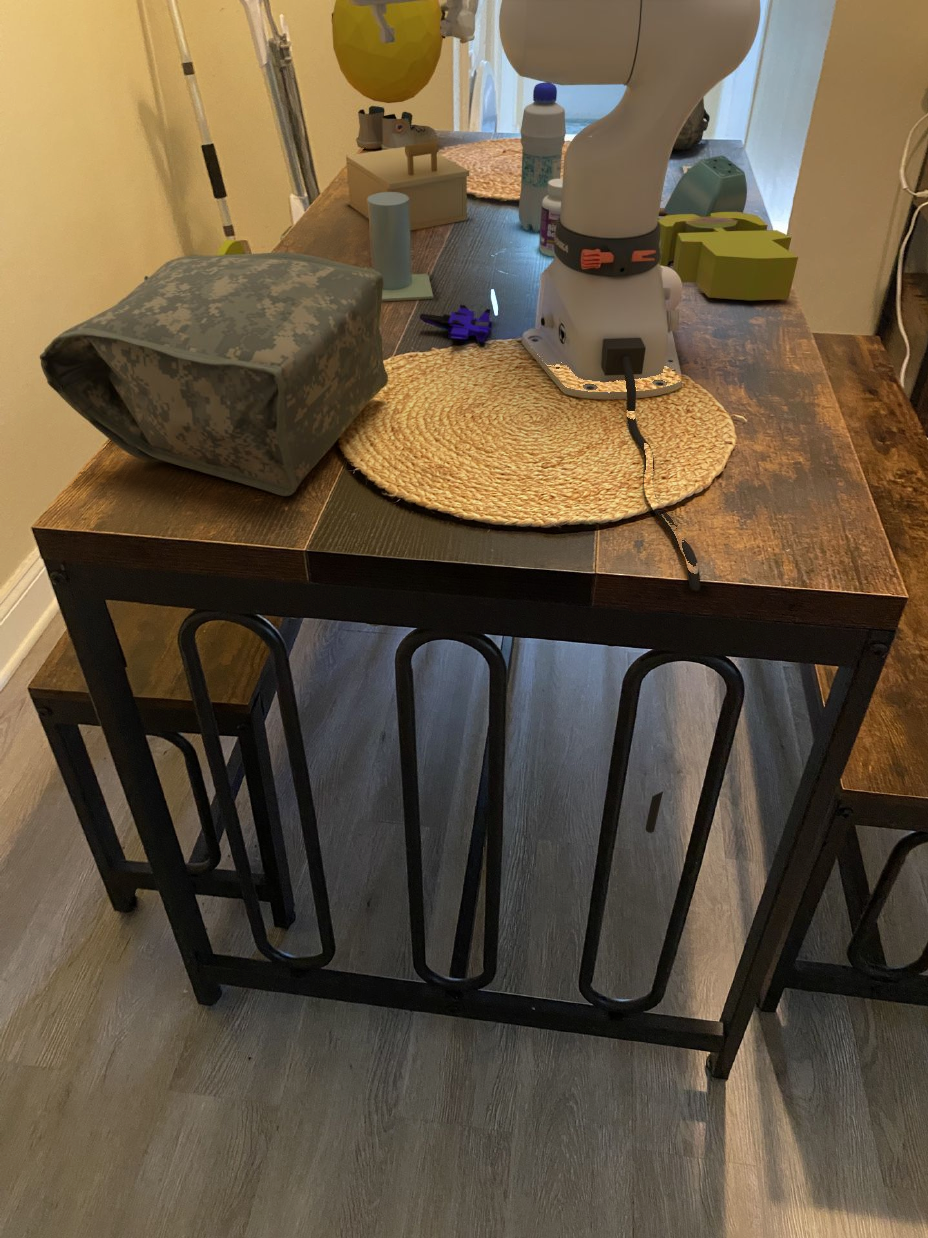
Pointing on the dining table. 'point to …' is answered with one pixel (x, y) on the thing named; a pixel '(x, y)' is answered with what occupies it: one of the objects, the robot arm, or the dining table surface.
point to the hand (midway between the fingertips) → (418, 38)
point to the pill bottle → (550, 216)
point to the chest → (414, 198)
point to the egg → (672, 287)
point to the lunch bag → (229, 364)
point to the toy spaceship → (462, 324)
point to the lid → (407, 165)
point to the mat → (410, 290)
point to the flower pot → (709, 189)
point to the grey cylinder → (390, 238)
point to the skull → (693, 128)
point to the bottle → (540, 151)
